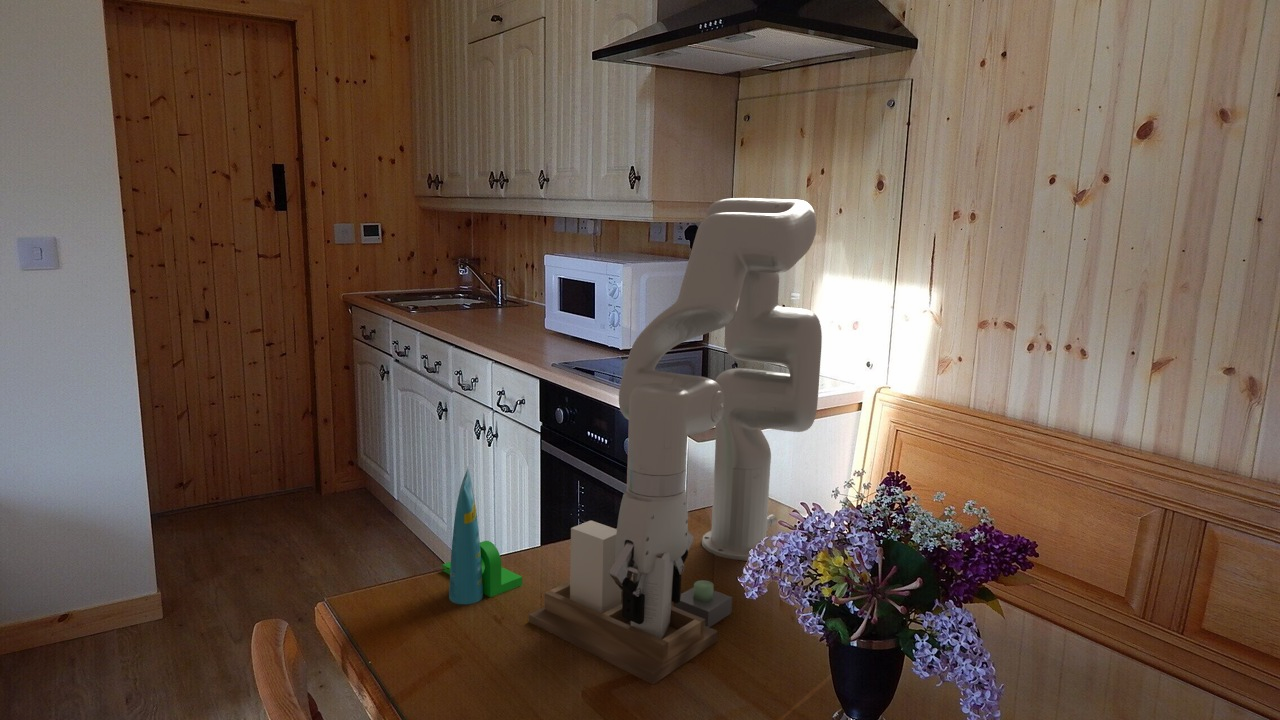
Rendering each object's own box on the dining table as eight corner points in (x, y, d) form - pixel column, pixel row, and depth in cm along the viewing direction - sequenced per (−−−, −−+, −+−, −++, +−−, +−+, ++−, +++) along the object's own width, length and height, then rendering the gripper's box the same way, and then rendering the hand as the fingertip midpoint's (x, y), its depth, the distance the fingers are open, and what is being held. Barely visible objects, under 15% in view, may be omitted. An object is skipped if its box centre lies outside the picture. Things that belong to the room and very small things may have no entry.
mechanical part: (522, 589, 126) (522, 539, 124) (490, 602, 121) (490, 550, 120) (474, 565, 134) (473, 518, 132) (442, 576, 129) (442, 527, 128)
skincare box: (640, 619, 113) (643, 535, 111) (672, 624, 112) (675, 539, 110) (628, 641, 107) (631, 553, 105) (662, 646, 106) (665, 557, 104)
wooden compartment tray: (596, 591, 125) (597, 566, 125) (717, 641, 112) (718, 613, 111) (528, 624, 115) (528, 597, 114) (653, 684, 101) (654, 654, 100)
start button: (700, 591, 121) (701, 578, 120) (716, 597, 119) (717, 584, 119) (689, 597, 119) (690, 584, 118) (705, 604, 117) (706, 590, 116)
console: (697, 600, 123) (698, 584, 123) (731, 613, 120) (732, 597, 119) (673, 614, 119) (673, 598, 118) (707, 628, 115) (708, 611, 115)
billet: (589, 599, 119) (590, 520, 117) (620, 612, 116) (622, 531, 114) (569, 608, 116) (571, 528, 114) (601, 623, 113) (603, 539, 110)
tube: (483, 610, 118) (483, 481, 115) (449, 613, 117) (447, 483, 114) (481, 587, 125) (481, 465, 122) (449, 590, 124) (447, 467, 121)
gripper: (673, 460, 115) (669, 580, 118) (588, 489, 102) (585, 624, 105) (718, 472, 110) (712, 596, 113) (635, 504, 97) (631, 644, 100)
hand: (651, 608), depth 109 cm, fingers closed on skincare box, 7 cm apart
